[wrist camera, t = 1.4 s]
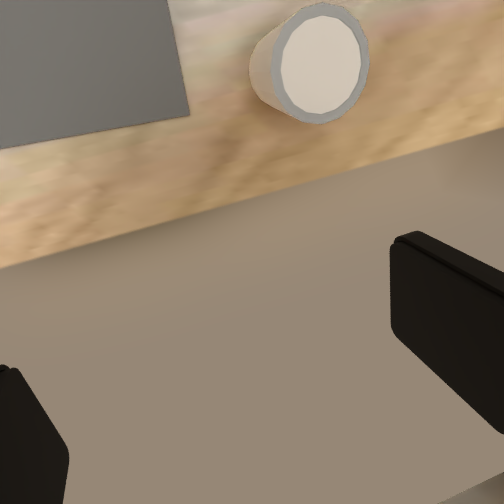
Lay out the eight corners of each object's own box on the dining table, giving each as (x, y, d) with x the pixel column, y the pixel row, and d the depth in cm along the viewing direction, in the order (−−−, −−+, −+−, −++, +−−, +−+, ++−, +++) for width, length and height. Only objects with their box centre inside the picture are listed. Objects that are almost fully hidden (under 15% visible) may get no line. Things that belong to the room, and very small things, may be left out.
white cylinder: (244, 120, 30) (273, 130, 24) (236, 21, 27) (268, 3, 21) (321, 111, 32) (367, 119, 26) (322, 17, 29) (374, 0, 23)
